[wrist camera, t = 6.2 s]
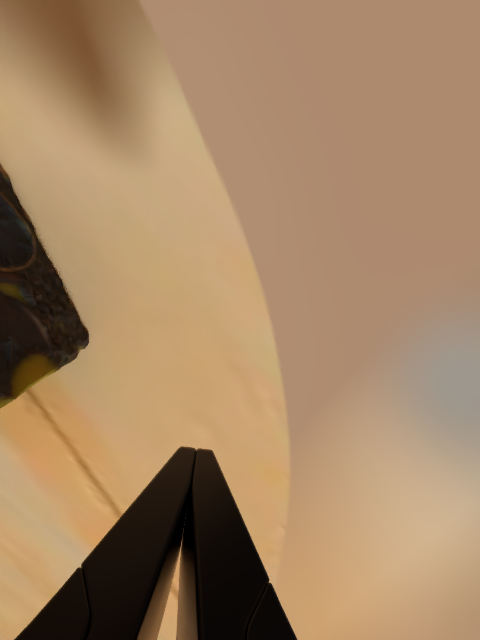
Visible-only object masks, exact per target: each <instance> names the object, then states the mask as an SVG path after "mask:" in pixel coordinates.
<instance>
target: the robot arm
mask: <svg viewBox="0 0 480 640" xmlns="http://www.w3.org/2000/svg"><path fill="white" fill-rule="evenodd" d="M195 454H196V455H195ZM185 518H186V519H185ZM184 524H185V525H184ZM183 530H184V532H183ZM182 537H183V538H182ZM181 542H182V546H181ZM180 548H181V557H180V575H179V595H178V615H177V635H176V640H297V638H296V636H295V634H294V631H293V629H292V627H291V625H290V623H289V621H288V619H287V617H286V614H285V612H284V610H283V608H282V606H281V604H280V602H279V600H278V597H277V595H276V592H275V590H274V588H273V586H272V584H271V583H269V577H268V575H267V572H266V570H265V568H264V566H263V563H262V561H261V559H260V557H259V554H258V552H257V550H256V548H255V545H254V543H253V541H252V539H251V536H250V534H249V532H248V530H247V527H246V525H245V523H244V520H243V518H242V516H241V514H240V511H239V509H238V507H237V505H236V502H235V500H234V498H233V496H232V493H231V491H230V489H229V487H228V484H227V482H226V480H225V478H224V475H223V473H222V471H221V468H220V466H219V464H218V462H217V459H216V457H215V455H214V453H213V451H212V450H208V449H200V448H199V449H197V450H196V449H195V448H191V447H180V448H179V449H178V450H177V451H176V452H175V453H174V455H173V456H172V457H171V458H170V459H169V460H168V462H167V463H166V464H165V465H164V466H163V468H162V469H161V470H160V471H159V472H158V474H157V475H156V476H155V477H154V478H153V479H152V481H151V482H150V483H149V484H148V485H147V487H146V488H145V489H144V490H143V491H142V493H141V494H140V495H139V496H138V497H137V498H136V500H135V501H134V502H133V503H132V504H131V506H130V507H129V508H128V509H127V510H126V512H125V513H124V514H123V515H122V516H121V517H120V519H119V520H118V521H117V522H116V523H115V525H114V526H113V527H112V528H111V529H110V531H109V532H108V533H107V534H106V535H105V536H104V538H103V539H102V540H101V541H100V542H99V544H98V545H97V546H96V547H95V548H94V550H93V551H92V552H91V553H90V554H89V556H88V557H87V558H86V559H85V560H84V561H83V563H82V564H81V568H80V567H79V568H77V569H76V571H75V572H74V573H73V574H72V575H71V577H70V578H69V579H68V580H67V581H66V583H65V584H64V585H63V586H62V587H61V589H60V590H59V591H58V592H57V593H56V594H55V595H54V596H53V598H52V599H51V600H50V601H49V602H48V603H47V604H46V606H45V607H44V608H43V609H42V610H41V611H40V612H39V614H38V615H37V616H36V617H35V618H34V619H33V620H32V621H31V623H30V624H29V625H28V626H27V627H26V628H25V629H24V630H23V631H22V632H21V633H20V634H19V635H18V636H17V637H16V638H15V639H14V640H157V637H158V633H159V630H160V626H161V622H162V618H163V614H164V611H165V607H166V603H167V599H168V595H169V591H170V588H171V584H172V580H173V576H174V572H175V569H176V565H177V561H178V557H179V552H180Z"/></svg>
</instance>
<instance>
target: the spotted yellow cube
mask: <svg viewBox="0 0 480 640" xmlns="http://www.w3.org/2000/svg"><path fill="white" fill-rule="evenodd" d="M62 284H63V283H62V281H61V280H60V278H59V277H58V275H57V273H56V272H55V270H54V268H53V267H52V265H51V263H50V262H49V260H48V258H47V256H46V254H45V253H44V251H43V249H42V247H41V245H40V243H39V241H38V240H37V238H36V236H35V233H34V229H33V226H32V225H31V223H30V222H29V221H28V220H27V219H26V218H25V216H24V215H23V212H22V209H21V207H20V204H19V202H18V200H17V198H16V196H15V195H14V193H13V190H12V187H11V184H10V180H9V179H8V178H7V177H6V176H5V175H4V174H3V173H2V172H1V171H0V408H2V407H3V406H5V405H6V404H8V403H10V402H11V401H13V400H14V399H16V398H17V397H18V396H20V395H21V394H22V393H24V392H25V391H26V390H27V389H29V388H30V387H32V386H33V385H35V384H36V383H37V382H39V381H40V380H42V379H43V378H45V377H46V376H48V375H50V374H52V373H54V372H56V371H57V370H59V369H60V368H61V367H62V366H64V365H66V364H68V363H70V362H71V361H73V360H74V359H76V358H77V355H78V353H79V351H80V350H81V349H85V348H86V346H87V345H88V343H89V334H88V333H87V332H86V331H85V330H83V328H82V326H81V323H80V321H79V319H78V315H77V312H76V310H75V309H74V308H73V306H72V305H71V304H70V302H69V300H68V298H67V296H66V294H65V292H64V291H63V289H62Z"/></svg>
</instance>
